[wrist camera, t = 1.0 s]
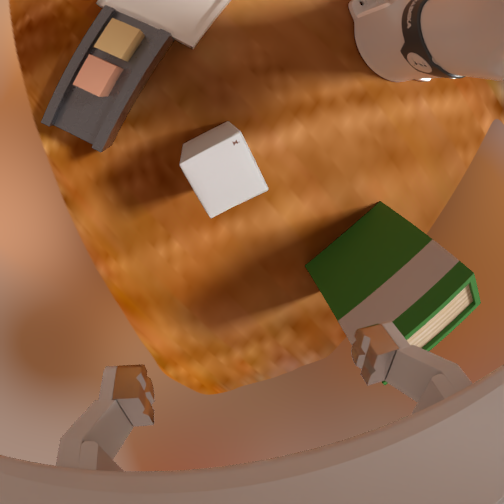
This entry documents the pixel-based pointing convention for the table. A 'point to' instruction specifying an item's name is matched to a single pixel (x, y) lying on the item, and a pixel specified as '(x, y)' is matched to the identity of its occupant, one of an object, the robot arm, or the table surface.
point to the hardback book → (394, 280)
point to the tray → (173, 15)
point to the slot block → (122, 94)
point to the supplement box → (221, 169)
